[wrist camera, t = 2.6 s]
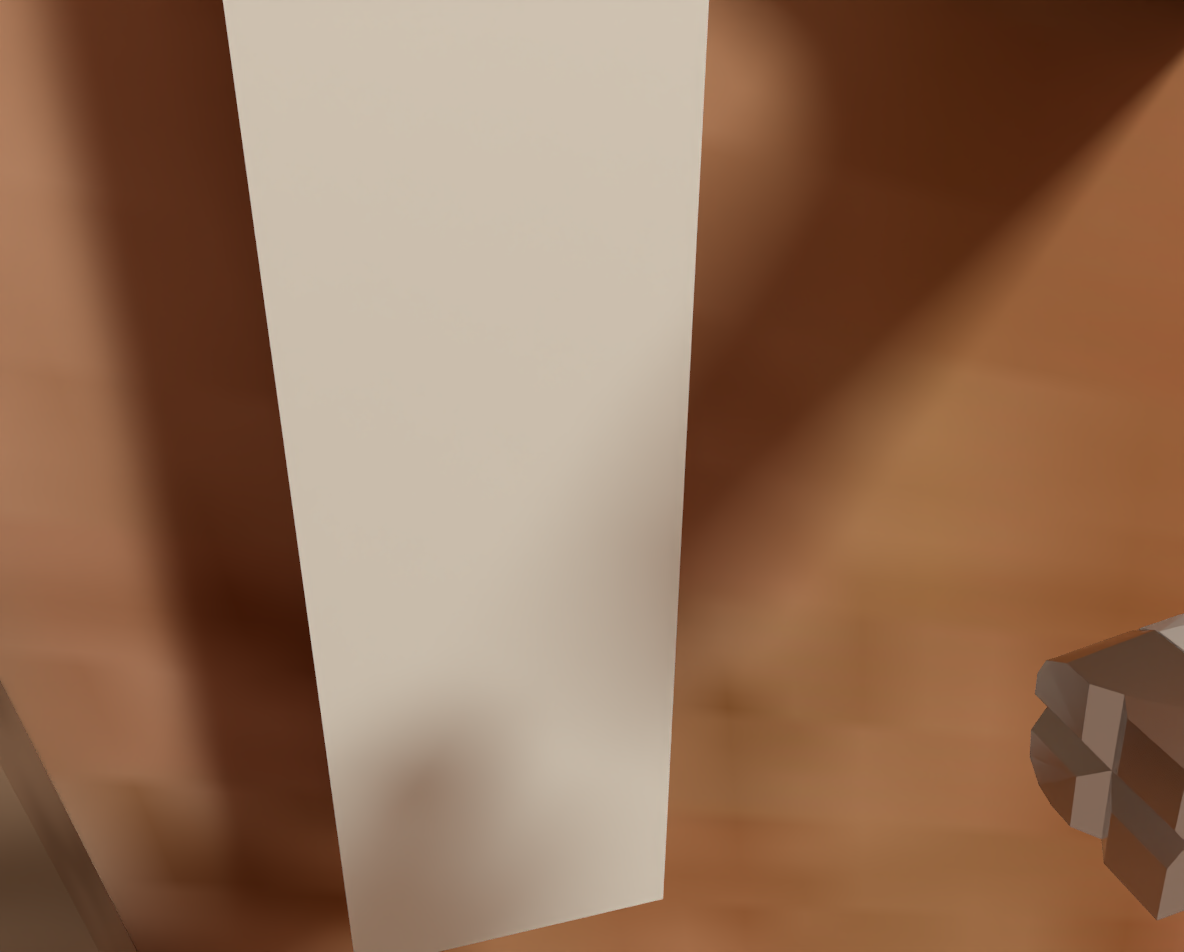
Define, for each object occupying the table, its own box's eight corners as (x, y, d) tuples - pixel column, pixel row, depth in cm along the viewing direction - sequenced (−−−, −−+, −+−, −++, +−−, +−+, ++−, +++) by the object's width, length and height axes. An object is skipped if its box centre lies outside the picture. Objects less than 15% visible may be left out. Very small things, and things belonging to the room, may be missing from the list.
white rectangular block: (604, 763, 25) (663, 899, 22) (337, 817, 24) (356, 970, 20) (620, -292, 16) (726, -341, 13) (183, -315, 14) (170, -378, 11)
